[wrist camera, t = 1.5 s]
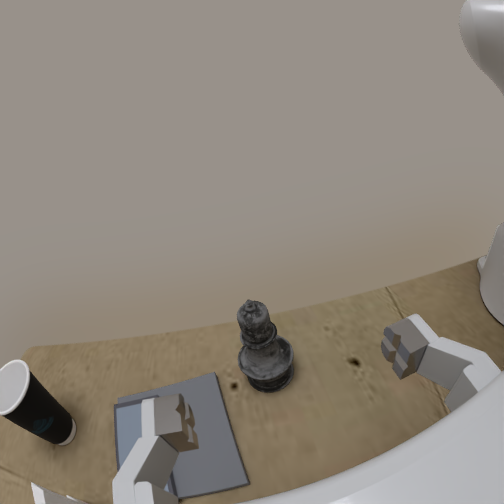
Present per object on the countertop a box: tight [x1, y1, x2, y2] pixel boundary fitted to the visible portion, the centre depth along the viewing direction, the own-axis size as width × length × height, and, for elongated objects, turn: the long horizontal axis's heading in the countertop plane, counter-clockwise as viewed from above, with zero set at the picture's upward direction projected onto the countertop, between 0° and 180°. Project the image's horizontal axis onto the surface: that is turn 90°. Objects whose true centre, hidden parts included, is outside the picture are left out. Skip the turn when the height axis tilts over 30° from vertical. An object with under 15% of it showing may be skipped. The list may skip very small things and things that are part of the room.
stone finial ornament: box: [237, 300, 294, 392], centre depth 28 cm, size 6×6×12 cm
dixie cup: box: [0, 360, 76, 445], centre depth 24 cm, size 8×8×11 cm
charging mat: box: [118, 372, 250, 499], centre depth 26 cm, size 13×14×1 cm
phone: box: [114, 395, 179, 502], centre depth 24 cm, size 6×13×1 cm, turn 17°
